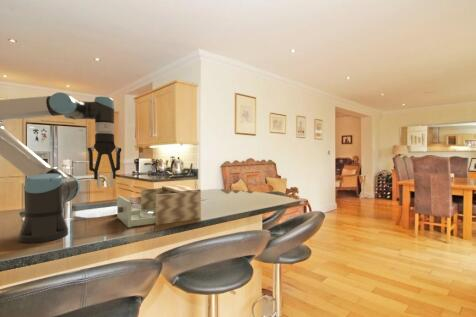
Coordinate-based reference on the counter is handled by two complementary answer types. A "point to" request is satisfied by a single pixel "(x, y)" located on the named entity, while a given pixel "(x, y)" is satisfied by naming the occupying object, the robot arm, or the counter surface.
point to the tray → (131, 213)
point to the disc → (147, 214)
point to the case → (172, 203)
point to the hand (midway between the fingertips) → (105, 186)
